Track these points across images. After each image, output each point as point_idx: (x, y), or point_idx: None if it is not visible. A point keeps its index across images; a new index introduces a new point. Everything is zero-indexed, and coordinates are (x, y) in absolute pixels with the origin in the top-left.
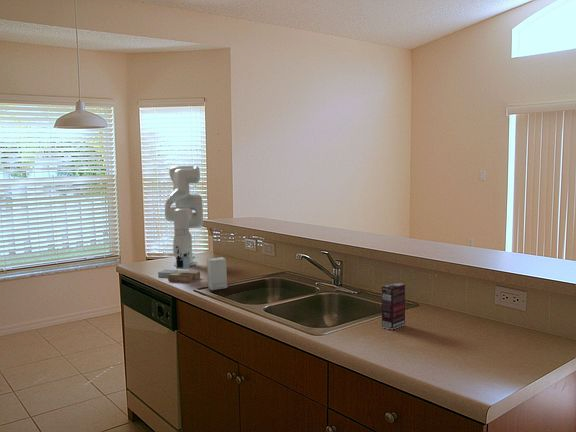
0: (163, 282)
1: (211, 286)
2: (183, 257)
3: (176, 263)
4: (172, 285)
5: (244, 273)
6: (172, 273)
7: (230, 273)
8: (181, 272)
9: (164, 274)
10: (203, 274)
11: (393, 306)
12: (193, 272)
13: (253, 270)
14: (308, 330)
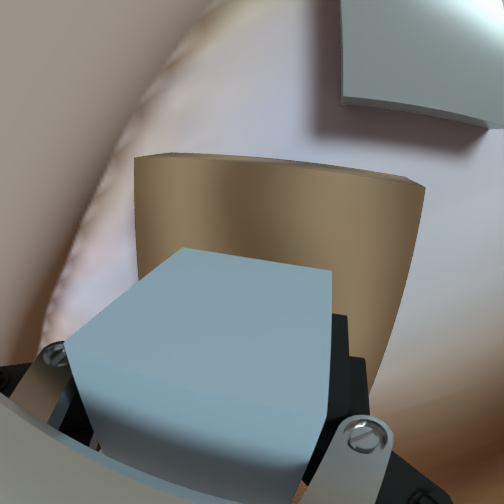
0: (138, 125)
1: (99, 451)
2: (133, 467)
3: (140, 288)
4: (85, 248)
5: (452, 500)
6: (210, 171)
7: (472, 466)
8: (293, 261)
9: (340, 13)
10: (489, 353)
11: None
12: None
13: (499, 497)
14: None
